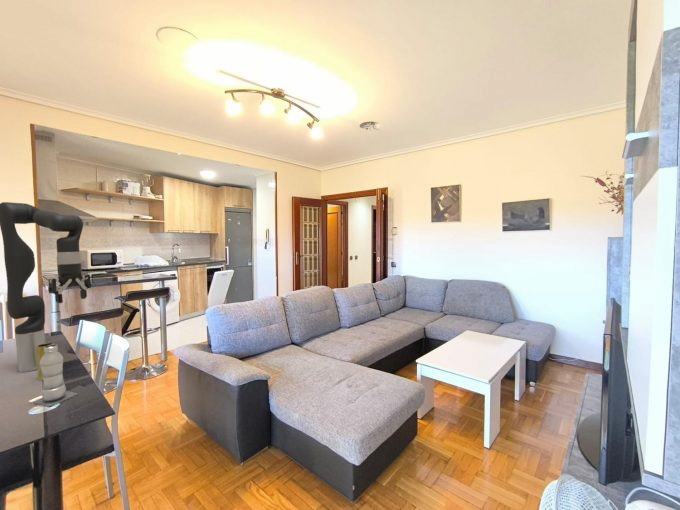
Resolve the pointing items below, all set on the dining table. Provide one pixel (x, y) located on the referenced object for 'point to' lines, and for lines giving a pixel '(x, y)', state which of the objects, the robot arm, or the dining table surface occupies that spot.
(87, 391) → the dining table surface
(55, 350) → the plastic bottle
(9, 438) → the dining table surface
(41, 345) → the vase
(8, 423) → the dining table surface
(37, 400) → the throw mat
